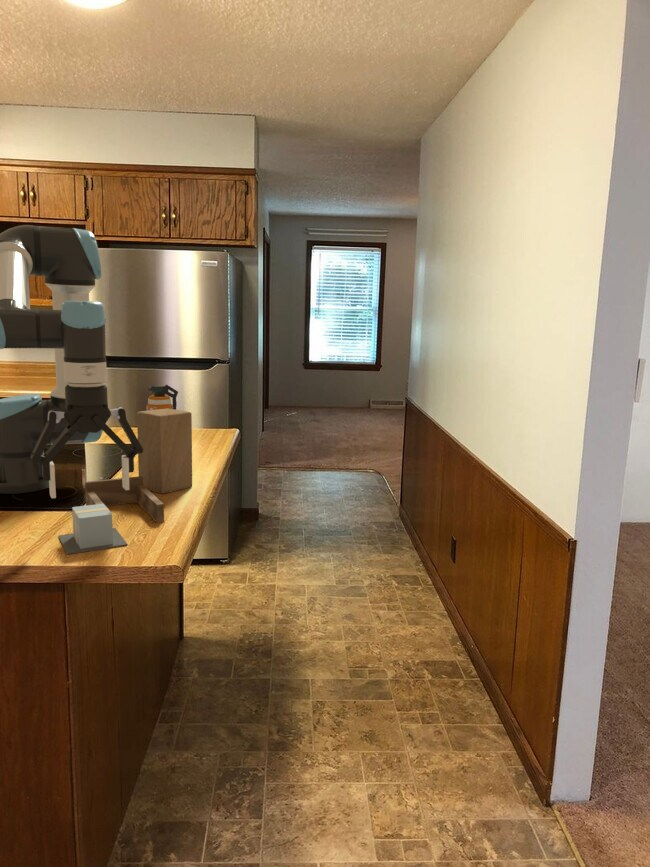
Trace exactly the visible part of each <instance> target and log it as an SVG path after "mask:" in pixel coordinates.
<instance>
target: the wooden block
mask: <svg viewBox="0 0 650 867" xmlns="http://www.w3.org/2000/svg"><path fill="white" fill-rule="evenodd" d="M136 418H137V419H136V423H137V424H136V425H137V439H138V441H139V443H140V445H141V446H142V448H143V452H142V453H139V454H137V461H138V463H137V466H138V476H142V477H143V486H145V487H146V488H147V489H148V490H149V491H150V492H154V493H157V494H161V495H163V494H167V493H172V492H175V491H179V490H184V489H190V488H192V487H193V439H192V438H193V433H192V431H193V429H192V428H193V427H192V426H193V424H192V423H193V421H192V418H193V416H192V412H191V411H184V410H180V409H176V410H175V409H173V408H172V409H169V408H167V409H157V410H148V411H147V410H141V411H137V413H136Z"/></svg>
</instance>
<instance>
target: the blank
mask: <svg viewBox="0 0 650 867" xmlns="http://www.w3.org/2000/svg"><path fill="white" fill-rule="evenodd" d="M71 509H72V510H71V512H72V531H73V536H74V538H75V540H76V542H77V544H78V545H79V547H80V549H83V548H90V547H97V546H104V545H110V544H113V528H114V527H113V526H114V525H113V524H114V523H113V514H112V512H111V511H110V509H109V508H108V506H105V505H104V504H96V505H87V506H86V505H80V506H73V507H71Z"/></svg>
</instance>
